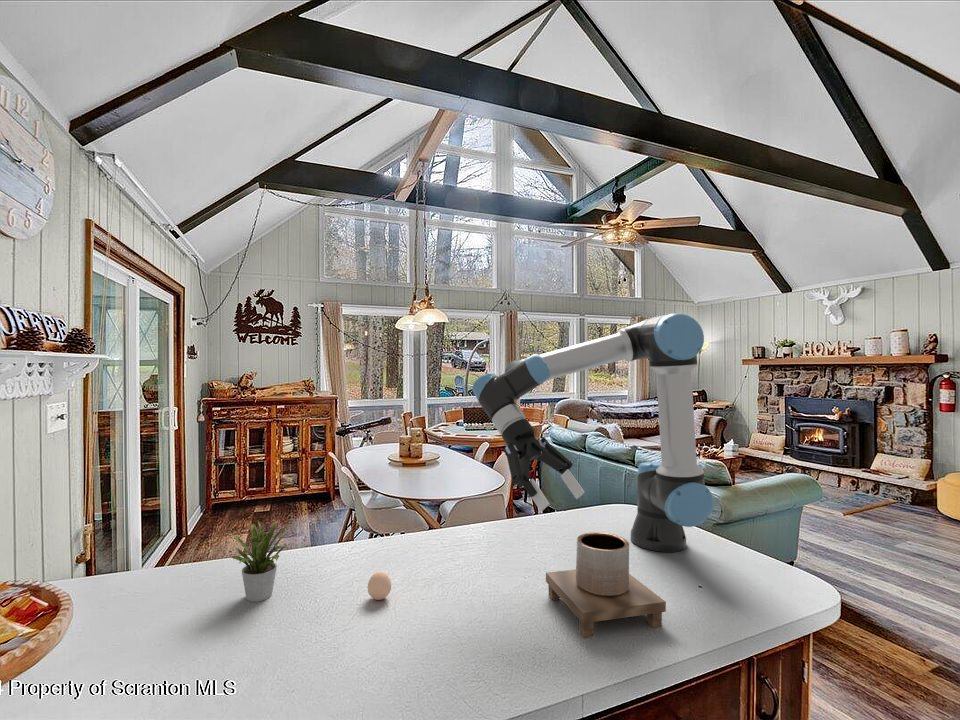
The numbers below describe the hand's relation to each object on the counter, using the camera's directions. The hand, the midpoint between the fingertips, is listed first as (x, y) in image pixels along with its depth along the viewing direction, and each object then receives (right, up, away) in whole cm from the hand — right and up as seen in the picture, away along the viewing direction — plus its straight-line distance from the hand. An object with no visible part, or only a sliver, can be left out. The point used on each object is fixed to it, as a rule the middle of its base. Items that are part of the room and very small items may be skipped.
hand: (563, 501), depth 113 cm
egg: (-41, -20, -3) cm, 46 cm away
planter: (+7, -16, -7) cm, 19 cm away
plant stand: (+7, -21, -7) cm, 23 cm away
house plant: (-66, -20, -3) cm, 69 cm away
